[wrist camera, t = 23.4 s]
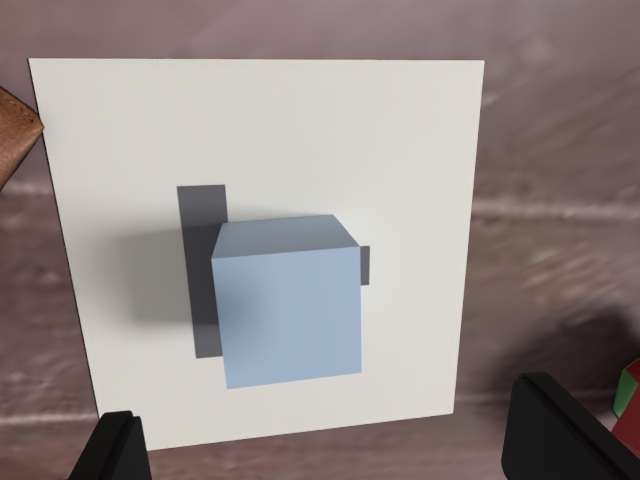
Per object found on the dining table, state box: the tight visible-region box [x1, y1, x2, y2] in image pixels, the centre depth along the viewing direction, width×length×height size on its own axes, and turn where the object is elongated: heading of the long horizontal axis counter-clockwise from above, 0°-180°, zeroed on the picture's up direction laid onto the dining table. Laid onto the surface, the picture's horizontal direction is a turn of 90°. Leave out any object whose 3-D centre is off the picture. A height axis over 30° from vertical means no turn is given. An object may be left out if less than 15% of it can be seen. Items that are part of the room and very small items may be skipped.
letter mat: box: [29, 58, 484, 451], centre depth 23 cm, size 22×22×1 cm
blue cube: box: [211, 215, 362, 389], centre depth 20 cm, size 6×6×6 cm
